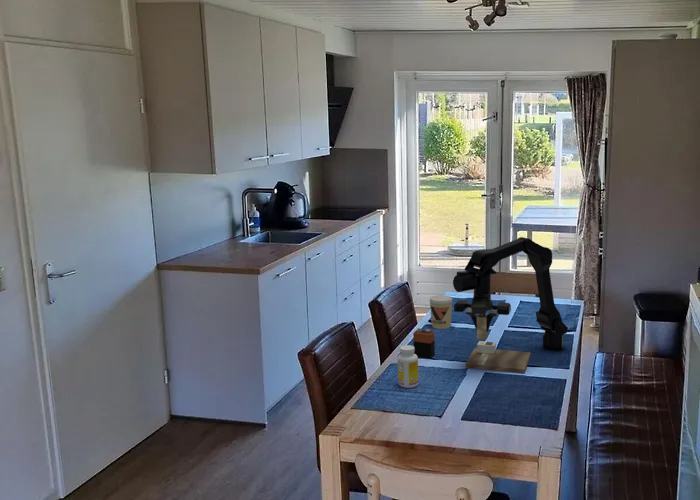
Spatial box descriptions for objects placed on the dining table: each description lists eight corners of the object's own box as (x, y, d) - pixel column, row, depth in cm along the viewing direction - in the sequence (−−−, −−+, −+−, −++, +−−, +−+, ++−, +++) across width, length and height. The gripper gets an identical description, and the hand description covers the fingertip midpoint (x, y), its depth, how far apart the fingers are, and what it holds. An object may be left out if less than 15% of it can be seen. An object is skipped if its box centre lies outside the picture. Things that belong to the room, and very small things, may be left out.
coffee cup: (427, 328, 288) (426, 300, 286) (433, 321, 297) (432, 294, 294) (449, 330, 285) (449, 301, 282) (455, 323, 293) (454, 295, 291)
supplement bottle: (420, 381, 234) (419, 344, 231) (415, 389, 228) (415, 351, 225) (401, 379, 236) (400, 343, 233) (395, 387, 230) (394, 350, 227)
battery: (430, 358, 255) (430, 332, 252) (413, 355, 258) (412, 329, 256) (435, 354, 258) (434, 328, 256) (418, 352, 261) (417, 326, 259)
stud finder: (495, 350, 255) (495, 342, 255) (493, 354, 252) (493, 345, 251) (479, 348, 257) (479, 340, 257) (477, 352, 254) (477, 344, 253)
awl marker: (487, 336, 246) (487, 311, 244) (486, 339, 243) (486, 314, 241) (478, 336, 247) (478, 310, 245) (476, 339, 244) (476, 313, 242)
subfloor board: (530, 356, 253) (530, 352, 252) (524, 373, 237) (524, 369, 237) (474, 351, 260) (474, 347, 259) (465, 367, 244) (465, 363, 244)
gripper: (450, 292, 237) (450, 336, 240) (506, 295, 230) (506, 340, 233) (457, 283, 247) (457, 326, 250) (511, 286, 240) (510, 330, 244)
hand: (482, 331), depth 244 cm, fingers closed on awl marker, 3 cm apart
